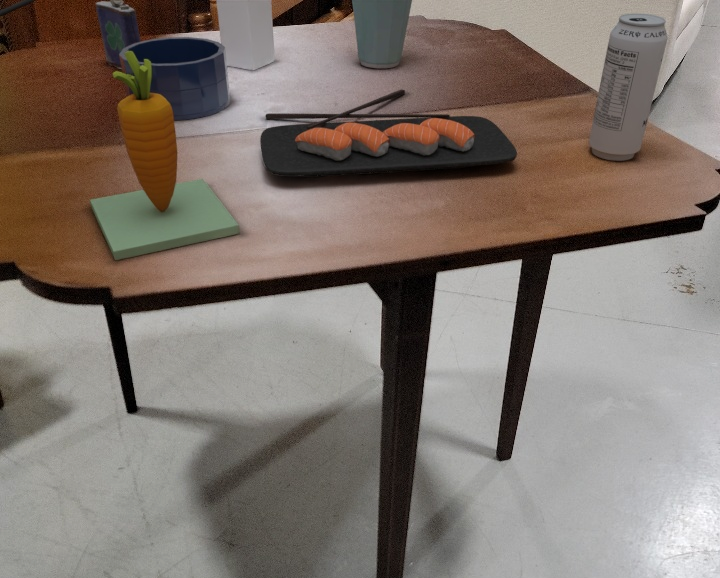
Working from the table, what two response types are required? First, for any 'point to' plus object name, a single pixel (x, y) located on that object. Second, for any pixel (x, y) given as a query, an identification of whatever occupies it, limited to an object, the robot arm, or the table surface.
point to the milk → (246, 32)
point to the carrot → (148, 134)
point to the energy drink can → (627, 85)
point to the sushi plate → (381, 143)
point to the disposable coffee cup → (380, 31)
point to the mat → (162, 220)
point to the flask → (117, 28)
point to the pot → (184, 74)
